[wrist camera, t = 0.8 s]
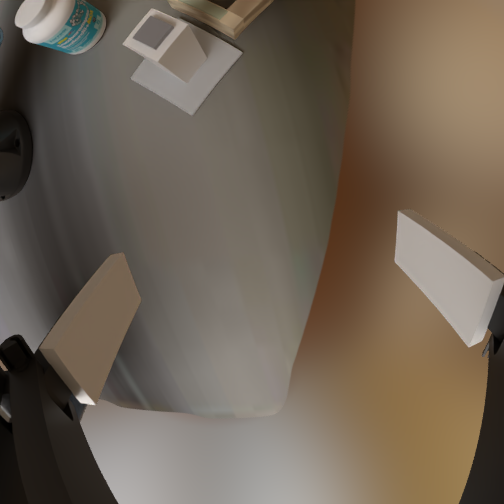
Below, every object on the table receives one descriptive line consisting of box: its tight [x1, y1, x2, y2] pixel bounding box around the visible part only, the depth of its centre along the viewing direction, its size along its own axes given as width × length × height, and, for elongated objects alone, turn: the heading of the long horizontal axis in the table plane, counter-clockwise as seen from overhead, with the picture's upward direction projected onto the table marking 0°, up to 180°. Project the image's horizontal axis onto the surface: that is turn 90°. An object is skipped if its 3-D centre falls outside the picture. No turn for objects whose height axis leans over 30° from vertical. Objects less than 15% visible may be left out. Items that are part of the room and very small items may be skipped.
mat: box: [130, 18, 243, 116], centre depth 27 cm, size 10×10×1 cm
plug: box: [123, 8, 207, 83], centre depth 21 cm, size 4×4×13 cm
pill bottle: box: [15, 0, 106, 55], centre depth 17 cm, size 8×7×14 cm
